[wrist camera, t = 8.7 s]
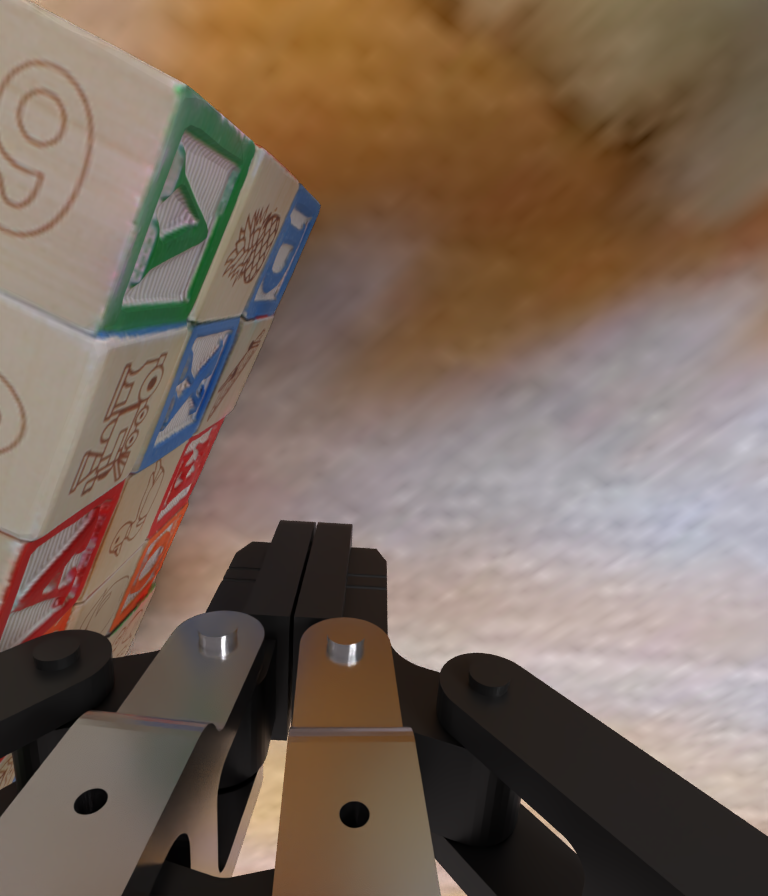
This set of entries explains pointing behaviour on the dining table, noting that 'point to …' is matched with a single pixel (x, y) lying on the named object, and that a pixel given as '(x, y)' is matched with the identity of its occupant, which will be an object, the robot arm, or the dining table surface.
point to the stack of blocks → (118, 316)
